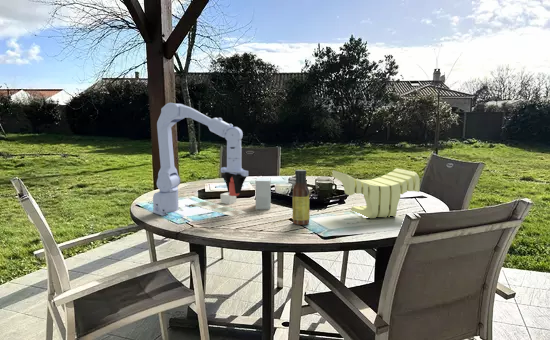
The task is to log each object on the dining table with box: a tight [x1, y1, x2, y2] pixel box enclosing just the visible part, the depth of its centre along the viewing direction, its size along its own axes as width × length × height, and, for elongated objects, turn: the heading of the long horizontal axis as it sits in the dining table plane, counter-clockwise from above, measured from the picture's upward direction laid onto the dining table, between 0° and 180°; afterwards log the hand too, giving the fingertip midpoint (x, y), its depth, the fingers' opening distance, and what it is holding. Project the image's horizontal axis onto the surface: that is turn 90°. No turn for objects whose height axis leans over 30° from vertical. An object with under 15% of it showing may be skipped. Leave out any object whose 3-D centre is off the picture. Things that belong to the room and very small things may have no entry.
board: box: [188, 201, 248, 217], centre depth 154 cm, size 10×28×1 cm, turn 46°
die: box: [220, 191, 237, 205], centre depth 164 cm, size 5×5×5 cm
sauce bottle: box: [292, 169, 311, 226], centre depth 135 cm, size 6×6×20 cm
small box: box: [255, 177, 272, 210], centre depth 156 cm, size 8×6×13 cm
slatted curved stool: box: [332, 167, 421, 219], centre depth 148 cm, size 30×16×18 cm, turn 106°
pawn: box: [228, 177, 240, 197], centre depth 145 cm, size 4×4×8 cm
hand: (234, 192), depth 145 cm, fingers closed on pawn, 4 cm apart
